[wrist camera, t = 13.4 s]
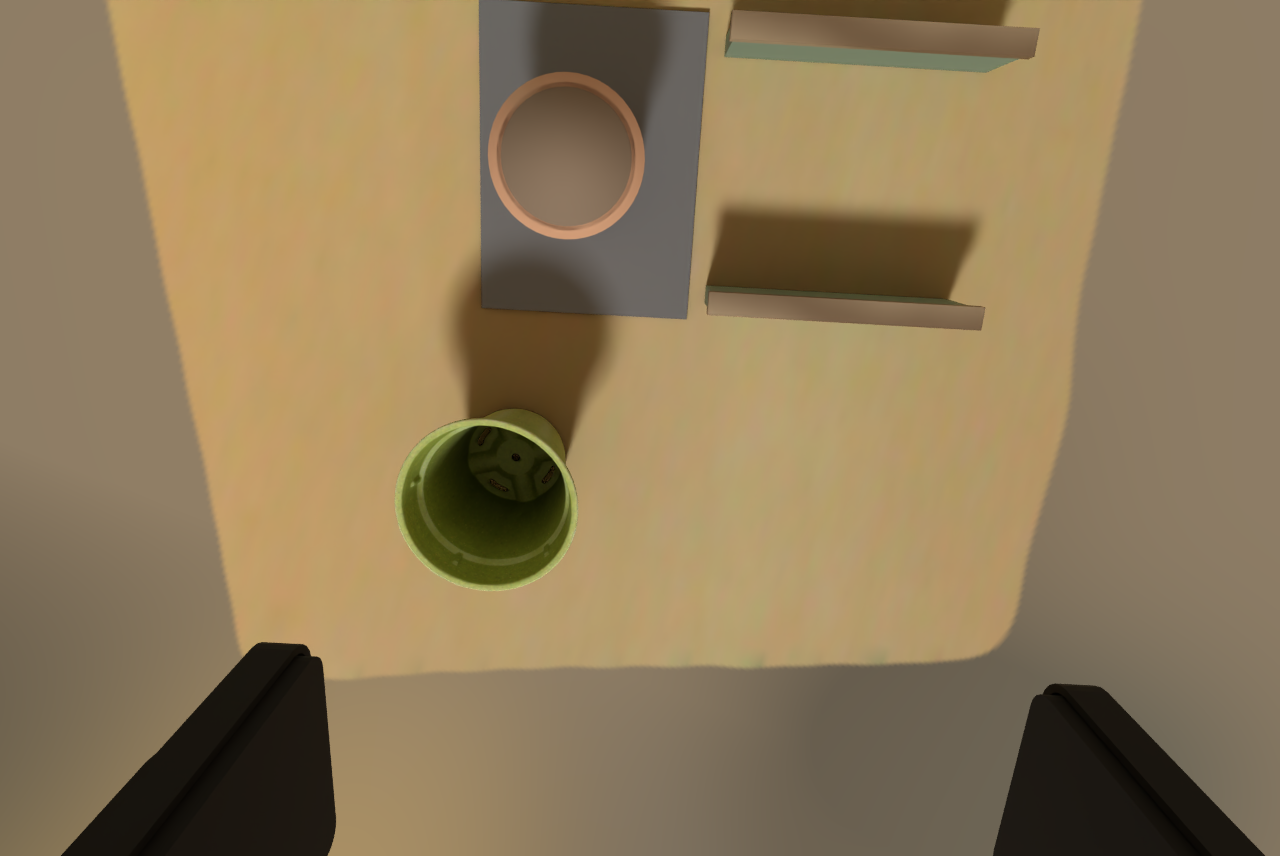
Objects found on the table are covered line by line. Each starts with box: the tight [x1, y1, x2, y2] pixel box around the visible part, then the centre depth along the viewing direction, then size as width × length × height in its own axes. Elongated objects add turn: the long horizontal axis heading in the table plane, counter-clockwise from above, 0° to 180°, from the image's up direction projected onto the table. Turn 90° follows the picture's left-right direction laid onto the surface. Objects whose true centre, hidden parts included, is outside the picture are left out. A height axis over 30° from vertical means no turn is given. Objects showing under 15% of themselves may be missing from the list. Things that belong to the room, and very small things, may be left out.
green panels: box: [705, 10, 1040, 330], centre depth 38 cm, size 14×14×5 cm
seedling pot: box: [488, 72, 645, 239], centre depth 36 cm, size 7×7×7 cm
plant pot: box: [395, 409, 578, 591], centre depth 40 cm, size 9×9×9 cm
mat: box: [479, 0, 709, 319], centre depth 39 cm, size 16×12×1 cm
